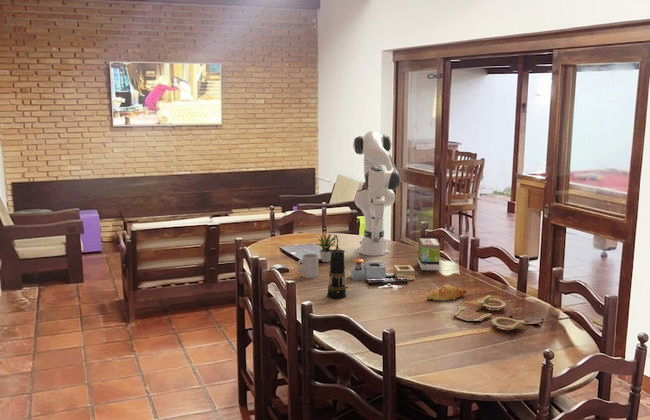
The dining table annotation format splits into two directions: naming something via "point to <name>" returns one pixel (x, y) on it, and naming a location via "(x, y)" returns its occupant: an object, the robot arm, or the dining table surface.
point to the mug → (309, 266)
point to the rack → (404, 272)
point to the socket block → (374, 270)
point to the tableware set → (494, 320)
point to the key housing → (358, 274)
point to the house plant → (325, 248)
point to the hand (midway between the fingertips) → (375, 224)
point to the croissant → (446, 293)
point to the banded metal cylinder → (375, 231)
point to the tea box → (429, 254)
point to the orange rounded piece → (358, 263)
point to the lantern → (337, 274)
